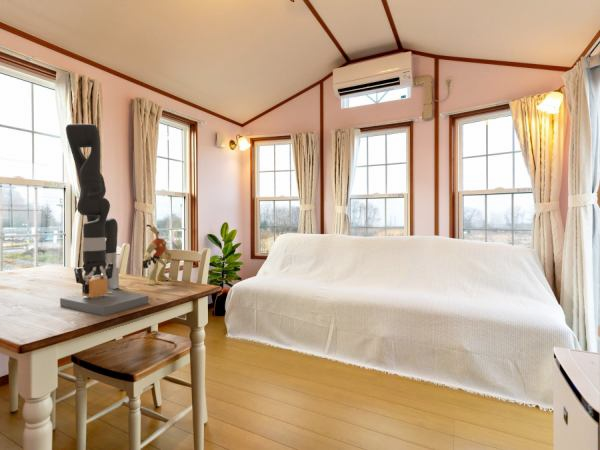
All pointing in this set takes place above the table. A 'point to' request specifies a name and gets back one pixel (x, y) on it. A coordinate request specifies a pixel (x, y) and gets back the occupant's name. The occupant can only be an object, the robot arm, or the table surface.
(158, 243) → the toy
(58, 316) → the table surface
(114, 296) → the panel
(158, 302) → the table surface
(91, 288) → the orange cube
